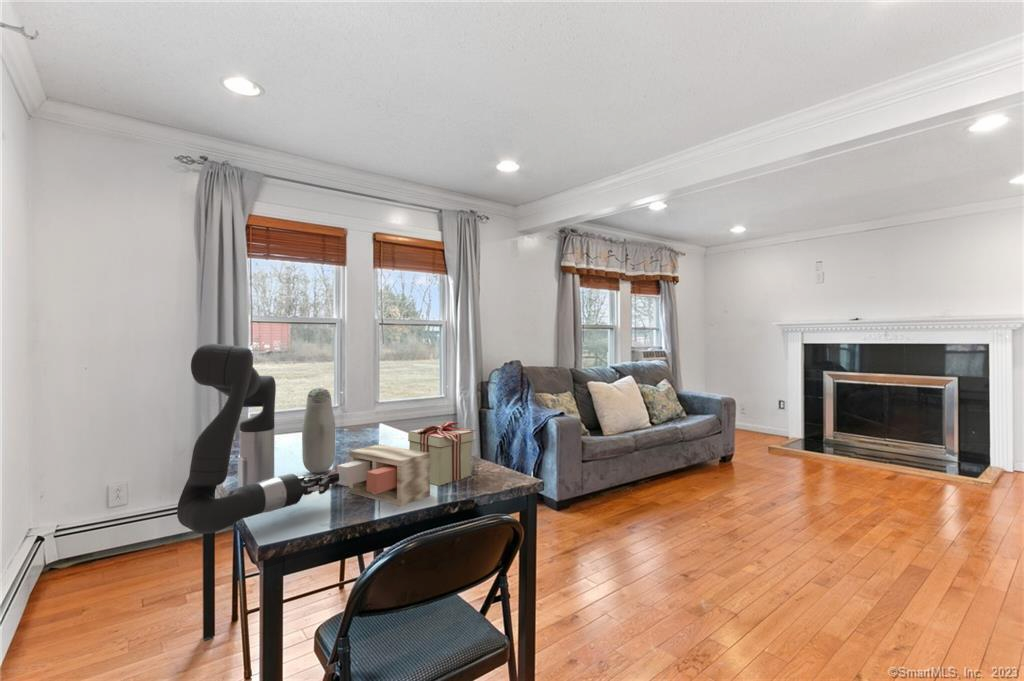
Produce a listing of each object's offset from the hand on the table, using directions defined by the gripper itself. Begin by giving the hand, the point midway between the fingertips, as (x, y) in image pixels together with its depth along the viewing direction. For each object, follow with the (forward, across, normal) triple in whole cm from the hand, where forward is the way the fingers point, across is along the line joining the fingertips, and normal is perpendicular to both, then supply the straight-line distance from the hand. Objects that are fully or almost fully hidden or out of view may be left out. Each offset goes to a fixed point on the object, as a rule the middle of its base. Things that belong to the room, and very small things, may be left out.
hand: (337, 476), depth 132 cm
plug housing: (+12, -6, +7) cm, 15 cm away
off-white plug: (+5, 0, +2) cm, 6 cm away
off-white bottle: (+16, +31, +7) cm, 36 cm away
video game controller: (+11, +15, +7) cm, 20 cm away
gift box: (+35, -8, +7) cm, 36 cm away
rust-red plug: (+5, -12, +2) cm, 13 cm away
